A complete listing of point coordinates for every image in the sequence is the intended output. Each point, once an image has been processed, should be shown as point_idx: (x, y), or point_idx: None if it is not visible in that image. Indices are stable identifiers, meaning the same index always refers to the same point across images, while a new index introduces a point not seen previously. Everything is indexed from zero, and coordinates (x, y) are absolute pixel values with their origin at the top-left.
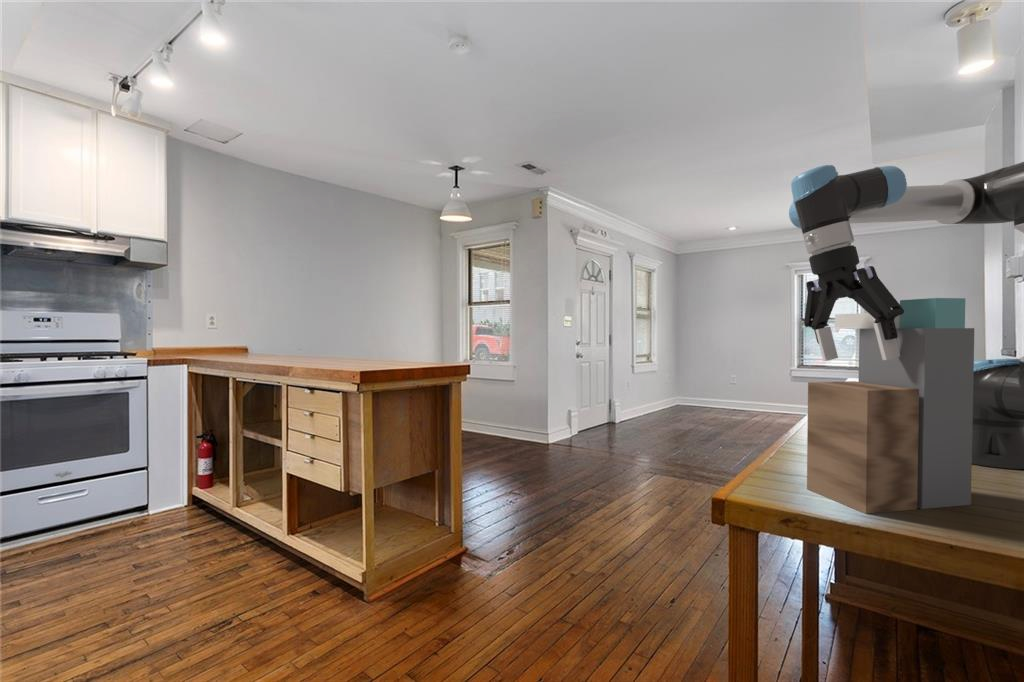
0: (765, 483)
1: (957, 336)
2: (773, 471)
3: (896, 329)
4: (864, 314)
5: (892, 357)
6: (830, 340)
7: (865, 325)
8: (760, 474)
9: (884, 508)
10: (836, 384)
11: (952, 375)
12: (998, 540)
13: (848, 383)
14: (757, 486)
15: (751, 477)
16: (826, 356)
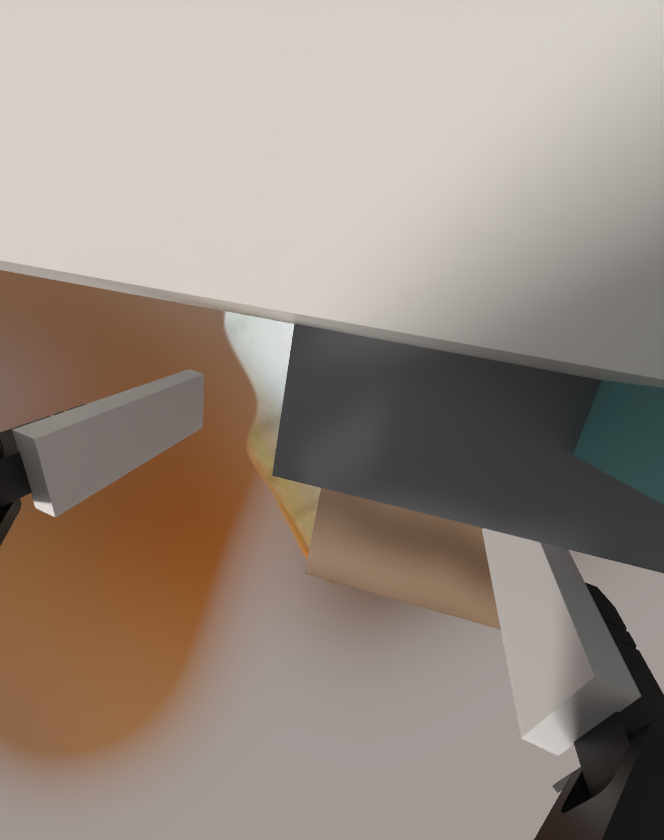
0: (302, 488)
1: None
2: (262, 425)
3: (591, 551)
4: (76, 275)
5: None
6: (131, 422)
7: (191, 303)
8: (267, 457)
9: None
10: (373, 559)
11: None
12: None
13: (370, 505)
14: (308, 508)
15: (274, 482)
16: (190, 428)
